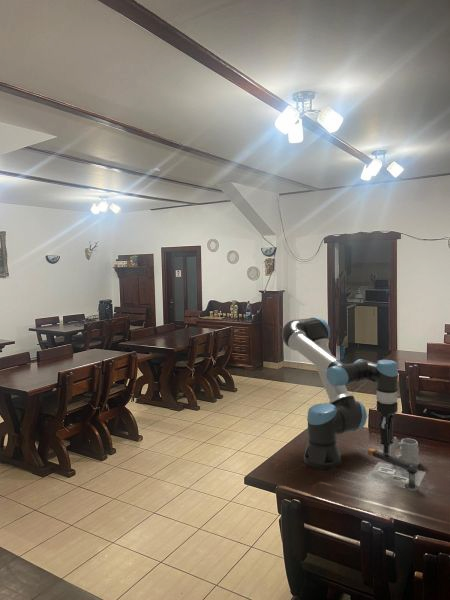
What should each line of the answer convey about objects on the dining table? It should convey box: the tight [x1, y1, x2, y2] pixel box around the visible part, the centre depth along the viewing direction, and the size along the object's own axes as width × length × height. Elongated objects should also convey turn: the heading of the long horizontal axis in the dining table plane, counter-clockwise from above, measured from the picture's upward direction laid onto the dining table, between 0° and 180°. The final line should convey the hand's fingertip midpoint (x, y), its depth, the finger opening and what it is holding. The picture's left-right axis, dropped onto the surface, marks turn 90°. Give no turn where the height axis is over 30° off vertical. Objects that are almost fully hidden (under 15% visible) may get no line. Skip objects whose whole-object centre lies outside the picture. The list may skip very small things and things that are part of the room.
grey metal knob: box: [404, 473, 420, 492], centre depth 164 cm, size 5×5×7 cm
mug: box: [391, 436, 421, 467], centre depth 183 cm, size 8×12×12 cm, turn 95°
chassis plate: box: [366, 461, 427, 492], centre depth 174 cm, size 18×17×1 cm
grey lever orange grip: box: [367, 447, 418, 473], centre depth 171 cm, size 20×4×2 cm, turn 34°
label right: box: [390, 475, 409, 484], centre depth 170 cm, size 6×4×1 cm, turn 56°
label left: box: [377, 467, 396, 475], centre depth 177 cm, size 6×4×1 cm, turn 56°
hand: (386, 460), depth 175 cm, fingers closed
